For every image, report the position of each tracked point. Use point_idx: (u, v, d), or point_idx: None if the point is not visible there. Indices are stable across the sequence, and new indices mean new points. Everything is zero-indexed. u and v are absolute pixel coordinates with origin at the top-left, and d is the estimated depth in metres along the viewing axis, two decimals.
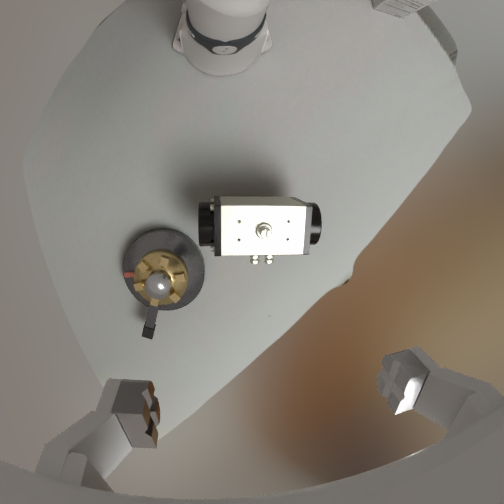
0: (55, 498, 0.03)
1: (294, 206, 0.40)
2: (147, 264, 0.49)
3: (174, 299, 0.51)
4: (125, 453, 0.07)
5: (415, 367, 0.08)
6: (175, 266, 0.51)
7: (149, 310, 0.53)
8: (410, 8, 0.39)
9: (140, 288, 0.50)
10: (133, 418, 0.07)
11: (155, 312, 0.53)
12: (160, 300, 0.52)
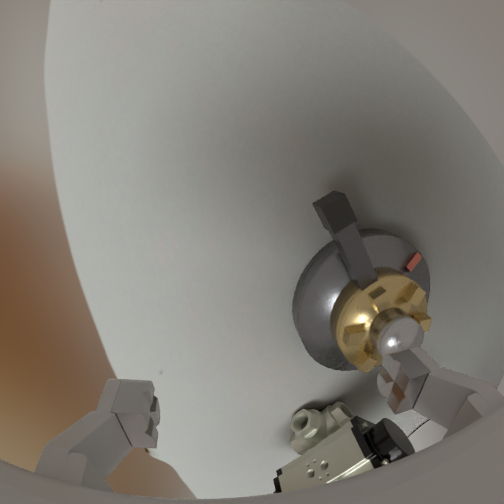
0: (55, 498, 0.03)
1: None
2: None
3: (355, 337, 0.24)
4: (125, 453, 0.07)
5: (415, 367, 0.08)
6: (378, 358, 0.26)
7: (368, 262, 0.24)
8: None
9: (414, 298, 0.23)
10: (133, 418, 0.07)
11: (356, 269, 0.24)
12: (367, 302, 0.24)
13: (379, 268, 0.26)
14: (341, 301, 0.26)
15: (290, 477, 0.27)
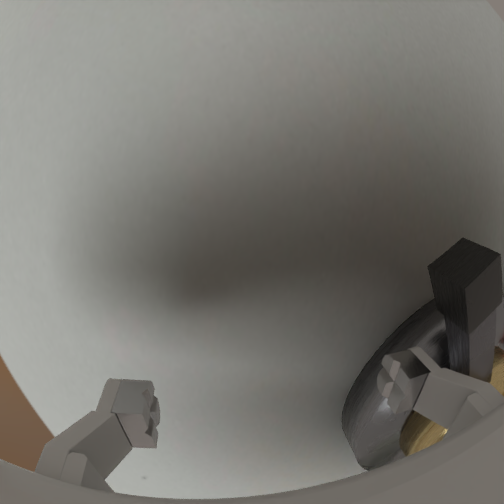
0: (55, 498, 0.03)
1: None
2: None
3: None
4: (125, 453, 0.07)
5: (415, 367, 0.08)
6: None
7: (490, 362, 0.10)
8: None
9: None
10: (133, 418, 0.07)
11: (474, 377, 0.10)
12: None
13: None
14: None
15: None
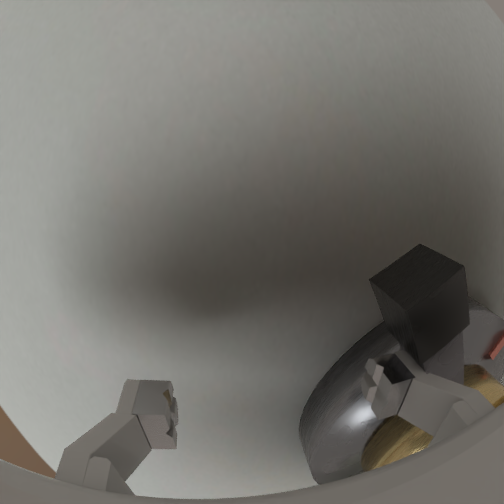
0: (55, 498, 0.03)
1: None
2: None
3: None
4: (144, 455, 0.07)
5: (399, 372, 0.08)
6: None
7: None
8: None
9: None
10: (155, 419, 0.07)
11: None
12: None
13: None
14: (390, 438, 0.11)
15: None
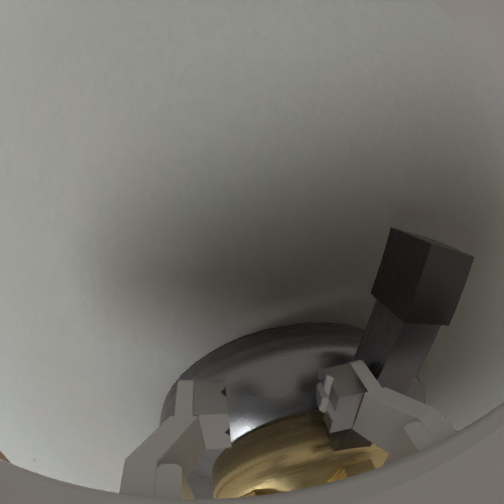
0: (55, 498, 0.03)
1: None
2: None
3: None
4: (200, 456, 0.07)
5: (350, 384, 0.08)
6: None
7: None
8: None
9: None
10: (216, 418, 0.07)
11: None
12: (327, 474, 0.09)
13: None
14: (278, 439, 0.10)
15: None
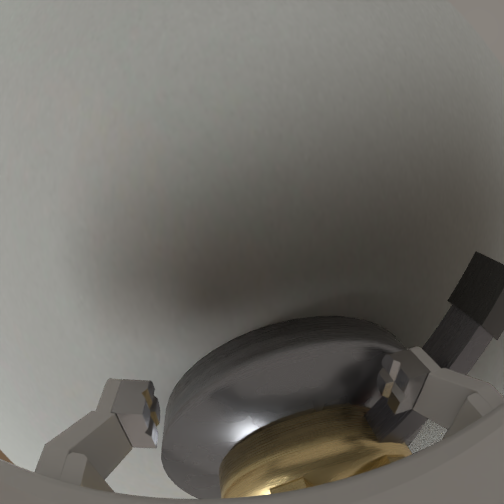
0: (55, 498, 0.03)
1: None
2: None
3: None
4: (125, 453, 0.07)
5: (415, 367, 0.08)
6: None
7: None
8: None
9: None
10: (133, 418, 0.07)
11: None
12: (368, 465, 0.09)
13: None
14: (327, 426, 0.10)
15: None
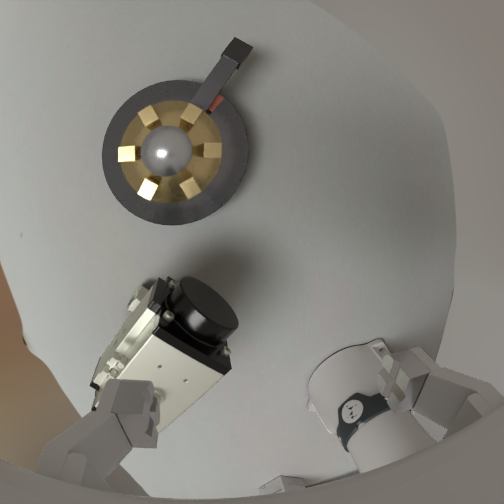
0: (55, 498, 0.03)
1: (162, 429, 0.24)
2: None
3: (149, 112, 0.23)
4: (125, 453, 0.07)
5: (415, 367, 0.08)
6: (135, 172, 0.26)
7: (214, 93, 0.25)
8: None
9: (209, 146, 0.25)
10: (133, 418, 0.07)
11: (204, 87, 0.25)
12: (182, 110, 0.25)
13: None
14: None
15: (106, 352, 0.28)
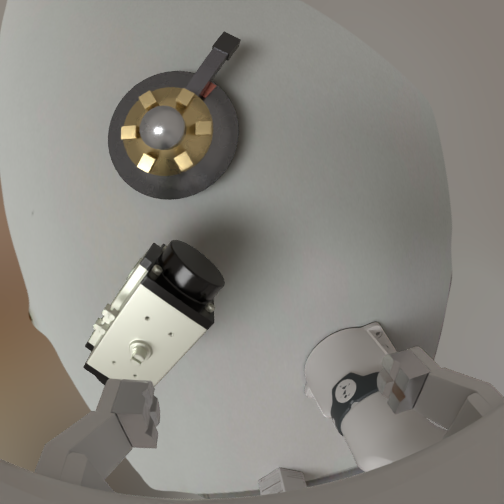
0: (55, 498, 0.03)
1: None
2: None
3: (148, 97, 0.26)
4: (125, 453, 0.07)
5: (415, 367, 0.08)
6: (136, 149, 0.29)
7: (206, 80, 0.28)
8: None
9: (200, 124, 0.28)
10: (133, 418, 0.07)
11: (197, 75, 0.27)
12: (178, 95, 0.27)
13: None
14: None
15: None
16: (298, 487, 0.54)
